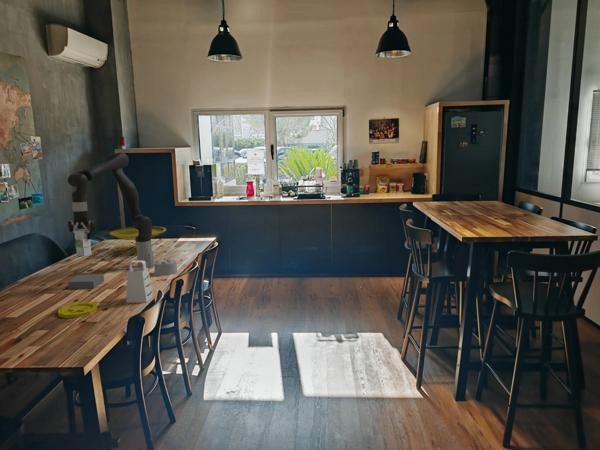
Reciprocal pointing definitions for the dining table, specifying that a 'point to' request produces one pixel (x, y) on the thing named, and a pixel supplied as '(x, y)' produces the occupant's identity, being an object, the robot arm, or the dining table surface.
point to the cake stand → (135, 234)
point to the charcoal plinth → (86, 281)
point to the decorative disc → (77, 310)
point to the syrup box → (82, 243)
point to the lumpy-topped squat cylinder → (165, 267)
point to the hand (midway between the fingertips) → (82, 239)
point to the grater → (138, 284)
